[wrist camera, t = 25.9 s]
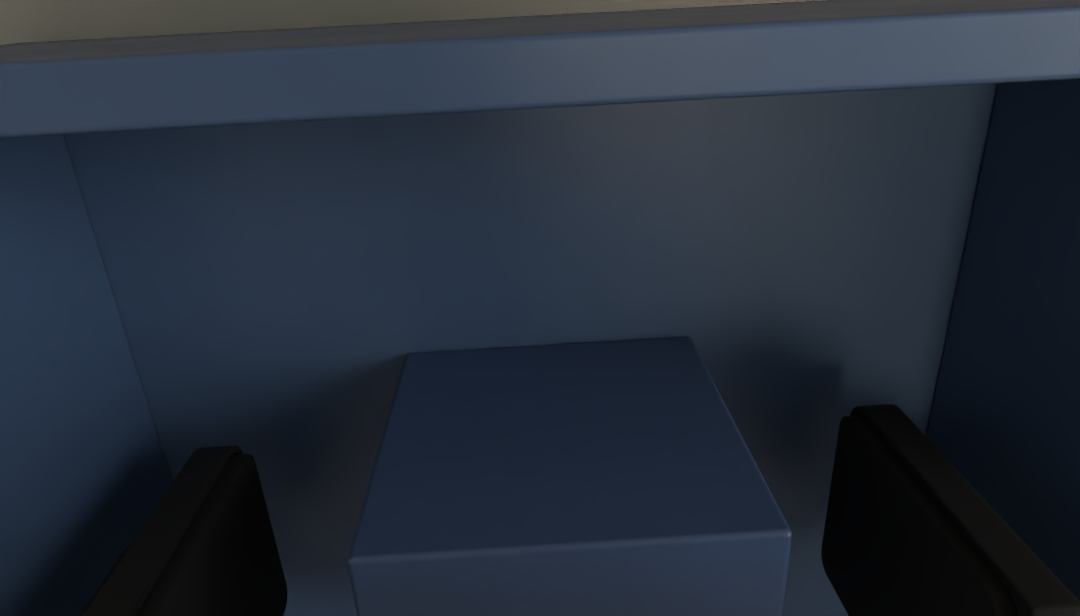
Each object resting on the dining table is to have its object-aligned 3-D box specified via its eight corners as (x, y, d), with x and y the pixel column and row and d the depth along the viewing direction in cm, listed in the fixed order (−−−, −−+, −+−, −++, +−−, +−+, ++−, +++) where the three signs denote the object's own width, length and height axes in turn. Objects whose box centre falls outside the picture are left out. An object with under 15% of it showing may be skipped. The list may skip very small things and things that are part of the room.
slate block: (435, 571, 13) (400, 839, 9) (405, 351, 11) (344, 561, 7) (681, 555, 13) (760, 814, 9) (691, 335, 12) (795, 532, 7)
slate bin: (241, 731, 16) (142, 1001, 12) (19, 42, 10) (-340, 80, 6) (882, 687, 16) (1015, 937, 12) (1029, -11, 10) (1394, -12, 6)
